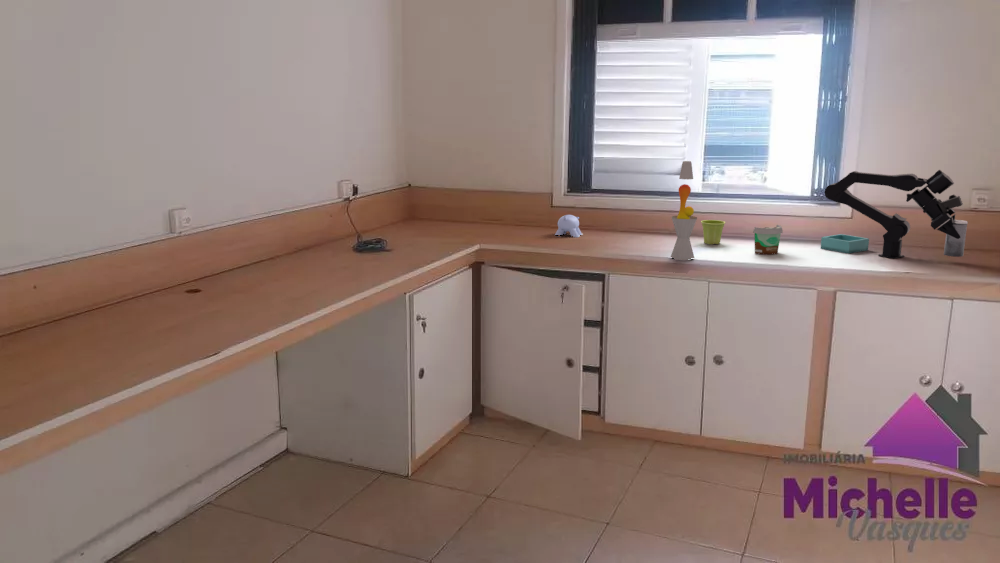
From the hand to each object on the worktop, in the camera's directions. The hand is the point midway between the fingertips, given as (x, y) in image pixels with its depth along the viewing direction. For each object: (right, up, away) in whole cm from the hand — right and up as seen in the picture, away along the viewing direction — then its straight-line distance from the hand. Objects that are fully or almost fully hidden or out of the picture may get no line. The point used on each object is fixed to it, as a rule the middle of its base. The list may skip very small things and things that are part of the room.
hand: (960, 236), depth 281 cm
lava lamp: (-94, -7, +13) cm, 95 cm away
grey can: (-1, -6, +2) cm, 7 cm away
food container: (-59, -5, +20) cm, 63 cm away
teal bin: (-29, -3, +27) cm, 40 cm away
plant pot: (-75, -1, +41) cm, 86 cm away
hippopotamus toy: (-131, +4, +62) cm, 145 cm away
